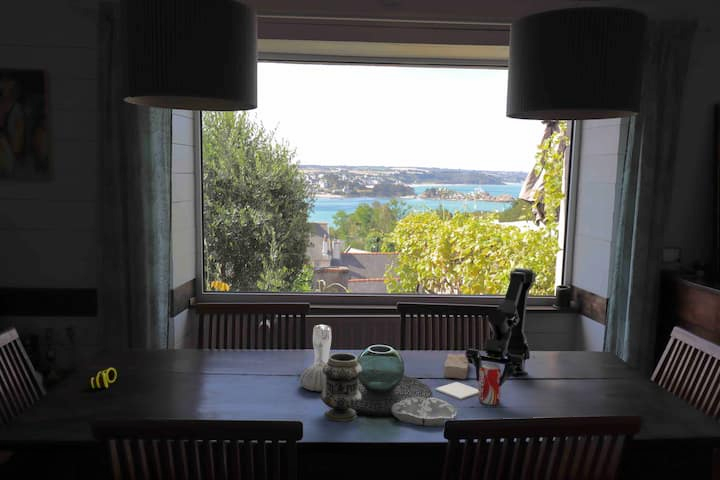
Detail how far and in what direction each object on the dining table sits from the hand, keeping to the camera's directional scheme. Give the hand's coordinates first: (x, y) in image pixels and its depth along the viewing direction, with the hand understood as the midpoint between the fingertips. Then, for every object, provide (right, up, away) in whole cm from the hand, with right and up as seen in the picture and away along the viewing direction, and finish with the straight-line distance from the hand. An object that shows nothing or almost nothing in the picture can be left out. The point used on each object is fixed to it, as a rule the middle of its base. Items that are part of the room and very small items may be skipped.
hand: (488, 383), depth 184 cm
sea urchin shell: (-55, -4, +12) cm, 56 cm away
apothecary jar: (-47, -7, -11) cm, 49 cm away
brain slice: (-22, -8, -10) cm, 25 cm away
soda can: (+1, -7, +2) cm, 7 cm away
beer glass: (-56, -2, +34) cm, 66 cm away
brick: (-5, -4, +32) cm, 33 cm away
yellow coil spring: (-127, -3, +9) cm, 128 cm away
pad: (-8, -5, +11) cm, 14 cm away
